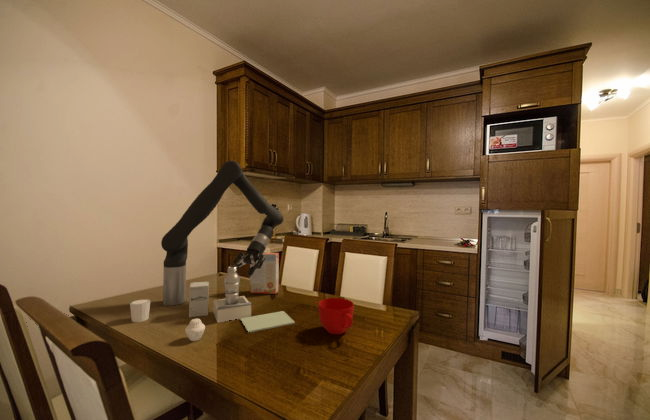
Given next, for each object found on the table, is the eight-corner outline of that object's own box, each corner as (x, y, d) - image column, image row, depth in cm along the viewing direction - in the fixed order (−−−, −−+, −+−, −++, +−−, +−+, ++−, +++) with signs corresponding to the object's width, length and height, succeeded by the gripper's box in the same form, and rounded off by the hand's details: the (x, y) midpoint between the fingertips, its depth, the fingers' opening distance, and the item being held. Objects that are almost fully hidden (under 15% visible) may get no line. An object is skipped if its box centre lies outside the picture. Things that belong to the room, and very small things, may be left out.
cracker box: (278, 291, 150) (279, 252, 150) (275, 294, 144) (276, 254, 144) (253, 290, 151) (254, 251, 151) (249, 293, 145) (250, 253, 145)
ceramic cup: (334, 347, 90) (334, 316, 90) (312, 327, 105) (312, 300, 105) (367, 338, 96) (367, 310, 96) (341, 321, 111) (342, 296, 111)
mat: (248, 332, 99) (248, 331, 99) (240, 319, 111) (240, 318, 111) (294, 323, 108) (294, 321, 108) (283, 312, 119) (283, 310, 119)
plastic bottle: (243, 312, 118) (243, 265, 118) (233, 318, 112) (233, 269, 112) (230, 310, 120) (231, 264, 120) (219, 316, 114) (220, 267, 114)
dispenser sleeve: (217, 322, 107) (217, 307, 107) (213, 311, 119) (213, 297, 119) (251, 317, 114) (251, 302, 114) (244, 307, 125) (244, 293, 125)
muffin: (206, 334, 98) (207, 314, 98) (203, 342, 92) (203, 321, 92) (187, 335, 96) (188, 315, 96) (182, 344, 90) (182, 322, 90)
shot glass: (154, 317, 112) (154, 300, 112) (136, 324, 105) (136, 305, 105) (143, 314, 115) (143, 297, 114) (125, 320, 108) (125, 302, 108)
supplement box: (188, 318, 112) (188, 286, 112) (190, 311, 119) (190, 282, 119) (208, 315, 114) (208, 285, 114) (208, 309, 121) (209, 280, 121)
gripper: (243, 239, 132) (224, 267, 122) (267, 240, 126) (249, 271, 115) (250, 248, 137) (233, 277, 126) (274, 251, 130) (257, 281, 120)
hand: (241, 274), depth 121 cm, fingers open, 8 cm apart
